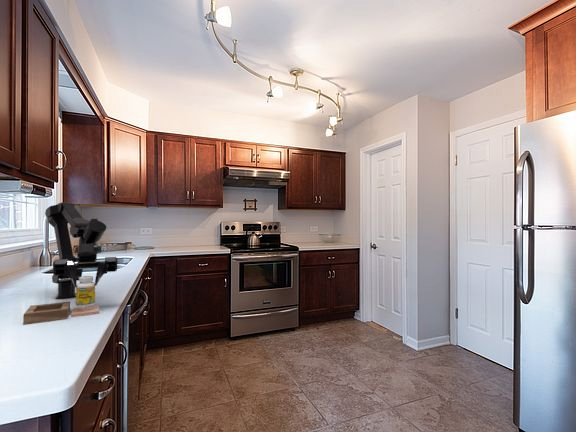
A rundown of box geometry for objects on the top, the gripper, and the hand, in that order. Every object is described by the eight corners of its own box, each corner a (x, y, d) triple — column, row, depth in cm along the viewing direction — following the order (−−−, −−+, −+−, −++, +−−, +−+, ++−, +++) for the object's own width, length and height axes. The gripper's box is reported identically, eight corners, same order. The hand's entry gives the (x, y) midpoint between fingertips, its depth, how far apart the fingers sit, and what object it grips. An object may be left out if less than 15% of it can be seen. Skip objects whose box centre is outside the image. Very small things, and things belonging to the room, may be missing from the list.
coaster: (72, 311, 105) (72, 308, 105) (98, 307, 109) (98, 305, 109) (71, 316, 98) (71, 314, 98) (98, 313, 102) (98, 310, 102)
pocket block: (30, 314, 100) (30, 305, 100) (70, 310, 106) (70, 301, 106) (23, 324, 91) (23, 314, 91) (67, 318, 96) (67, 309, 97)
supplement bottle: (94, 302, 108) (95, 275, 108) (95, 306, 103) (95, 277, 103) (76, 304, 105) (76, 276, 105) (75, 308, 100) (76, 279, 100)
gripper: (54, 235, 103) (48, 273, 93) (117, 234, 112) (118, 269, 103) (56, 256, 109) (51, 294, 100) (116, 254, 119) (117, 288, 109)
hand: (85, 285), depth 103 cm, fingers closed on supplement bottle, 5 cm apart
